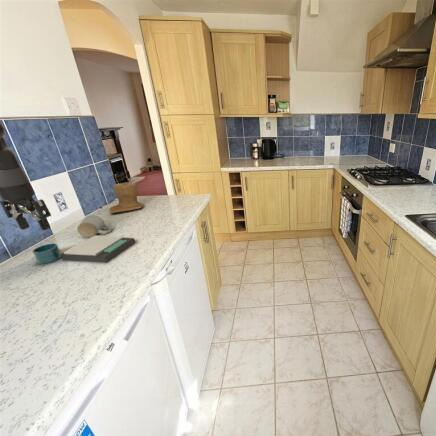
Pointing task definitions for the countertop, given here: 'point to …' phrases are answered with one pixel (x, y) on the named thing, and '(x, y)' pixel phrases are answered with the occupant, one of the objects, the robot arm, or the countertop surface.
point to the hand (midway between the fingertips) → (36, 228)
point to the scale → (98, 249)
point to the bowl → (47, 253)
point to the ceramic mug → (92, 226)
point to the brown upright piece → (126, 198)
